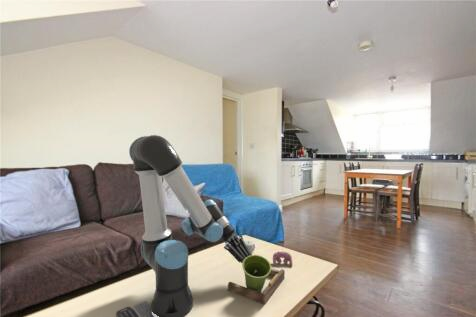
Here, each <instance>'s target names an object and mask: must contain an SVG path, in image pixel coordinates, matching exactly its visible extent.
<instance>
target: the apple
mask: <svg viewBox="0 0 476 317" xmlns="http://www.w3.org/2000/svg"><path fill="white" fill-rule="evenodd" d="M244 242H245V244H246V246H247V248H248V250H249V251H250V255H252V254H253V253H254V251H255V248H256V244H255V242H254V241H252V240H244Z"/></svg>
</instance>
